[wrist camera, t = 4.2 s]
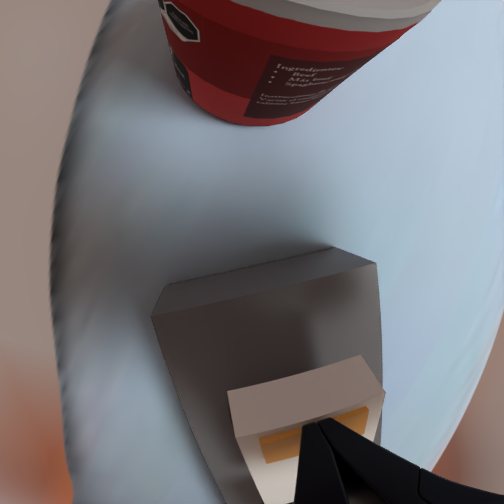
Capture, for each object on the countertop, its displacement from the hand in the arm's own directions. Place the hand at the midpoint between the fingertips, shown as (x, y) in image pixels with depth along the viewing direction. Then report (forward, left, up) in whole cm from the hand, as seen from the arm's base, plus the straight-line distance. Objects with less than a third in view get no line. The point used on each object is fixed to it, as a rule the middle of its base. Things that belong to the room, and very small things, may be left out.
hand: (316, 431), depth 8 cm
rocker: (-3, 0, -2) cm, 3 cm away
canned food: (+13, -2, -9) cm, 17 cm away
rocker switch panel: (-12, 0, -9) cm, 15 cm away
